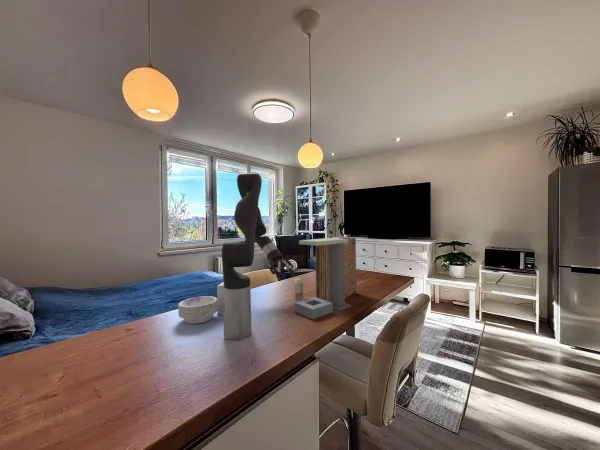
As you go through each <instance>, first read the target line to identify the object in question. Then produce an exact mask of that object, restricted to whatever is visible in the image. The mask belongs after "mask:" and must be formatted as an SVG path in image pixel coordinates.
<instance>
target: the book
mask: <svg viewBox="0 0 600 450" xmlns="http://www.w3.org/2000/svg"><path fill="white" fill-rule="evenodd" d="M340 238H341V239H348V242H347V243H344V284H345V299H346V298H348V297H350V296H351V295H354V294H355V293H358V292H357V249H356V248H357V247H356V243H357V242H356V237H344V236H343V237H342V236H341V237H340ZM314 247H315V249H314V250H315V251H314V252H315V297H316V298H319V299H322V300H326V301H329V302H332V303H333V300H332V249H331V244H328V245H318V246H314Z"/></svg>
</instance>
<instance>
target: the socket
mask: <svg viewBox="0 0 600 450" xmlns="http://www.w3.org/2000/svg"><path fill="white" fill-rule="evenodd" d="M293 304H294V312H295V313H298V314H299V315H301V316H304V317H306V318H309V319H311V320H315V319H317V318H321V317H324V316H325V315H329V314H331V313H333V312H334V309H333V303H332V302H329V301H326V300H322V299H319V298H316V296H314V297H309V298H305V299H303V300H301V301H298V302H295V301H294V303H293Z"/></svg>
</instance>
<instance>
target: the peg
mask: <svg viewBox="0 0 600 450" xmlns="http://www.w3.org/2000/svg"><path fill="white" fill-rule="evenodd" d="M303 280H304V279H303V278H302V277H299V278H298V277H297V278H294V302H298V301H301V300H304V281H303Z"/></svg>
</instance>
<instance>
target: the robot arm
mask: <svg viewBox="0 0 600 450" xmlns="http://www.w3.org/2000/svg"><path fill="white" fill-rule="evenodd" d="M236 177H237V178H236V184H237V188H238V189H237V190H238V192H239V195H240V197H241V199H240V200H239V201H238V202H237V204H236V206H235V210H234V215H233V220H234V223H235V224H236V226H237V228H238V229H239V230H240V232H241V233H242V234H243V236H244V239H245V240H235V241H234V240H233V241H231V240H229V241H225V242H224V243H223V244H222V246H221V247H222V248H221V265H222V280H223V281H222V282H224V312H223V314H222V316H223V339H224V340H231V341H232V340H233V341H241V340H243V339H245V338H249V337H250V335H252V330H253V329H252V295H251V294H252V293H251V292H252V289H251V278H250V277H249V276H248V275H245V274H242V273H240V272H239V271H237V270H236V269H235V268H247V267H248V268H249V267H251V266H252V265H253V262H254V257H255V243H256V244H257V246H258V247H259V248H260V249H261V251H262V253H263V255H264V257H265V258H266V259H267V261H268V264H267V268H268V269H269V271H270V272H271V274H272V275H276V276H277V277H278V279H279V280H280V281H283V280H284V279H285V276H284V275H283V273H282V272H281V270H284V271H287V272H288V273H289V275H290V276H291V278H295V277H296V272H295V271H294V268H295V266H294V264H292V262H291V261H290V259H289V258H287V259H284V258H283V254H282V253H281V251H280V250H279V248H278V247H277V246H276V245H275V244H274V242H273V241H272V240H271V238H270V237H269V236H268V235H266V234H267V228H266V225H265V223H264V222H263V218H262V213H261V210H260V207H259V202H260V201H259V200H260V195H261V191H262V183H263V182H262V181H263V180H262V177H261V175H260V174H259V173H257V172H244V173H243V172H242V173H239V174H237V176H236Z"/></svg>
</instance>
